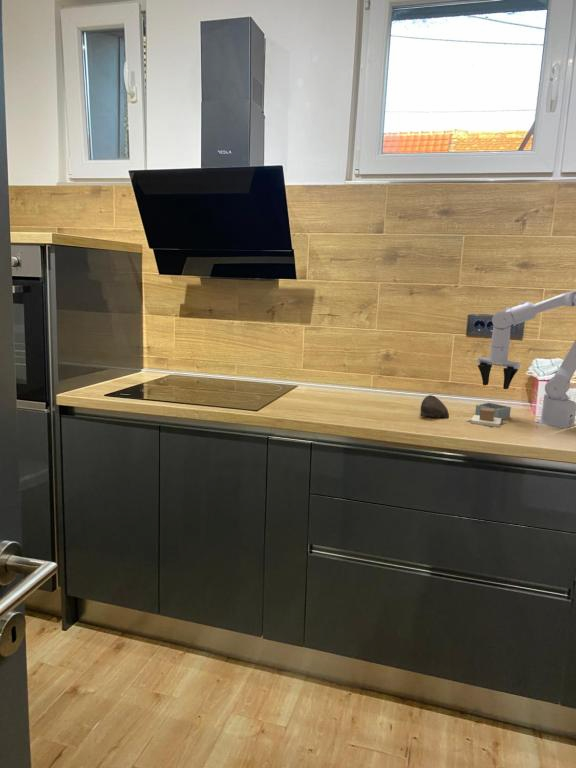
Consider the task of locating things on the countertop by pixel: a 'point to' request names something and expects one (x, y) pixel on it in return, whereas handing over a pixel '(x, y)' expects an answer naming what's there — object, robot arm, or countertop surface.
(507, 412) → the box
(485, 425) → the mat
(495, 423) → the lid
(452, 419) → the countertop surface
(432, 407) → the stone
